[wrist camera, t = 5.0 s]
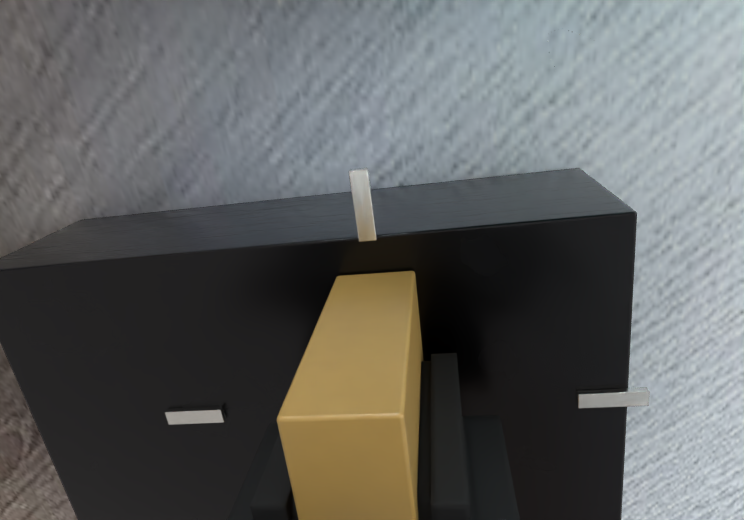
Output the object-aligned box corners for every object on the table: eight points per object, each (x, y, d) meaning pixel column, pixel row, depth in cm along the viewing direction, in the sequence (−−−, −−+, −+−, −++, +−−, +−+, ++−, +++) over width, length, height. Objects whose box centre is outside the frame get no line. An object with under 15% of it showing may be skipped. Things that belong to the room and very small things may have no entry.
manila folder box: (336, 274, 11) (268, 431, 6) (414, 269, 10) (402, 428, 6) (373, 516, 13) (343, 756, 8) (438, 516, 13) (442, 761, 8)
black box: (595, 110, 13) (667, 135, 9) (588, 475, 17) (635, 601, 13) (64, 173, 15) (-64, 216, 11) (171, 484, 19) (104, 595, 15)
